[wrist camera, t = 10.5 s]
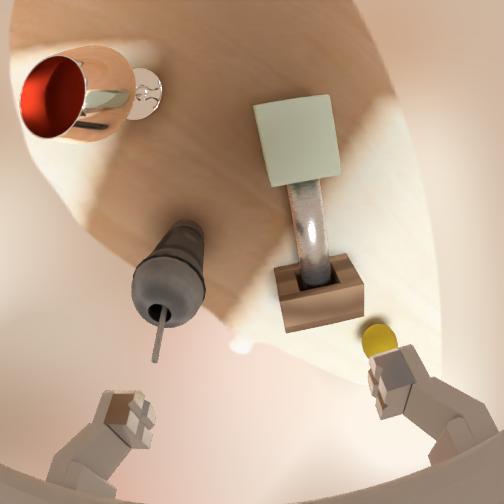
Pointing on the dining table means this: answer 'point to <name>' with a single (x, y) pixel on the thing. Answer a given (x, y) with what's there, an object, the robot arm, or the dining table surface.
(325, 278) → the tube
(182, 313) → the beverage cup
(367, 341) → the lemon
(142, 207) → the dining table surface
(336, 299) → the socket
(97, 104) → the wineglass
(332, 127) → the sage green block
